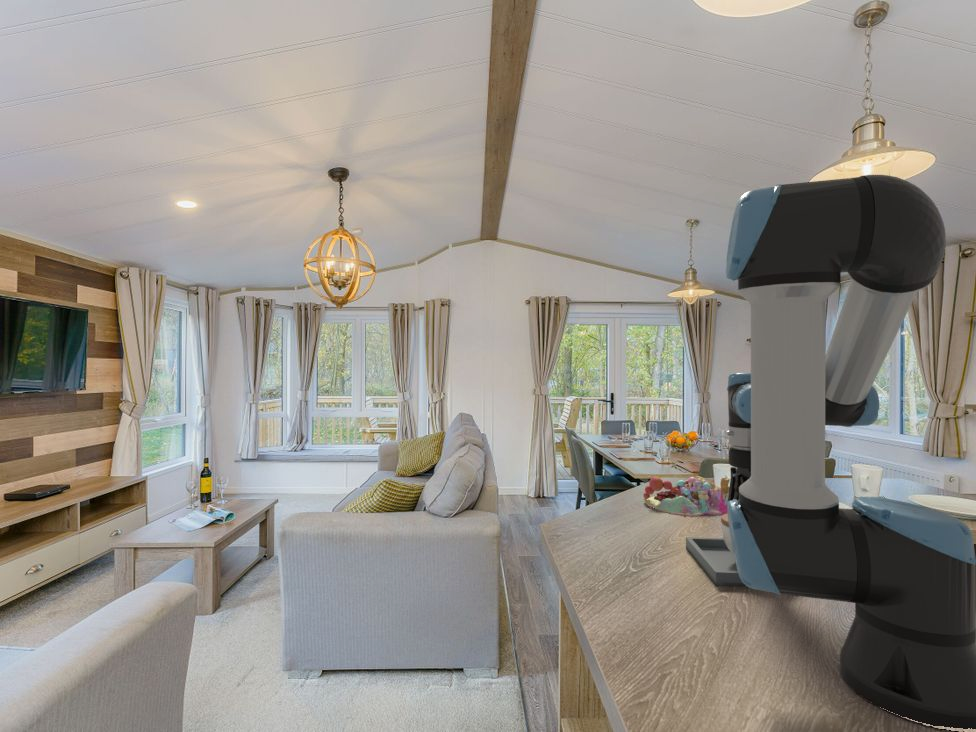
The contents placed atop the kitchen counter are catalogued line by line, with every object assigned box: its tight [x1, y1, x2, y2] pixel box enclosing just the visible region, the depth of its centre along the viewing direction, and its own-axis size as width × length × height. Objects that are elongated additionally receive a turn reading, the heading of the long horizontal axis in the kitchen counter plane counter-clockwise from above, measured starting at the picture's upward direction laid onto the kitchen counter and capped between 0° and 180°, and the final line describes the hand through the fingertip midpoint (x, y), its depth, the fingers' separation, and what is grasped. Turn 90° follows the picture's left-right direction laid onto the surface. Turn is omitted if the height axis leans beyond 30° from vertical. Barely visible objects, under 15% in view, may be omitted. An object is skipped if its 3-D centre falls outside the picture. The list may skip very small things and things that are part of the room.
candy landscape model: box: [643, 475, 730, 517], centre depth 151 cm, size 25×24×9 cm
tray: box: [685, 536, 746, 587], centre depth 104 cm, size 20×20×2 cm
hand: (749, 554), depth 104 cm, fingers closed on lidded jar, 11 cm apart
